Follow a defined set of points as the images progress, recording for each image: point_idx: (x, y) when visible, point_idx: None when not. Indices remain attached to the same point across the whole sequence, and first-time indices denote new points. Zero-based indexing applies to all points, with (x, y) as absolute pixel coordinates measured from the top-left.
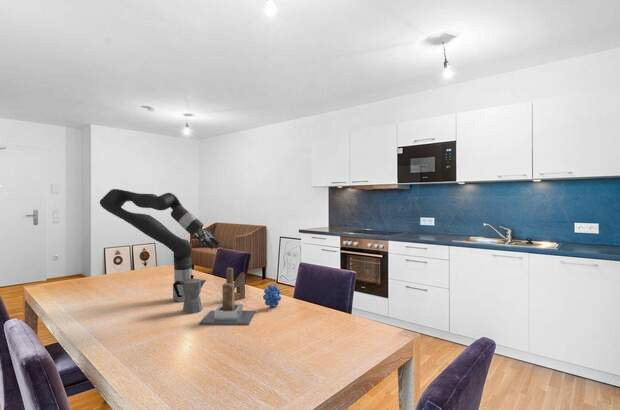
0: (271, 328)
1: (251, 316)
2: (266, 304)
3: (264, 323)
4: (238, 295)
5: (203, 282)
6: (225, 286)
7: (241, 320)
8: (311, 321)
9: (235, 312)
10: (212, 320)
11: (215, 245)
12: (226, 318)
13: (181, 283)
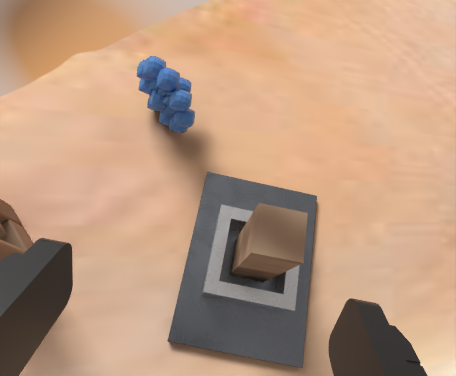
0: (343, 142)
1: (263, 186)
2: (186, 130)
3: (306, 155)
4: (17, 227)
5: None
6: (303, 247)
7: None
8: (302, 50)
9: None
10: (287, 317)
11: (55, 319)
12: None
13: None
